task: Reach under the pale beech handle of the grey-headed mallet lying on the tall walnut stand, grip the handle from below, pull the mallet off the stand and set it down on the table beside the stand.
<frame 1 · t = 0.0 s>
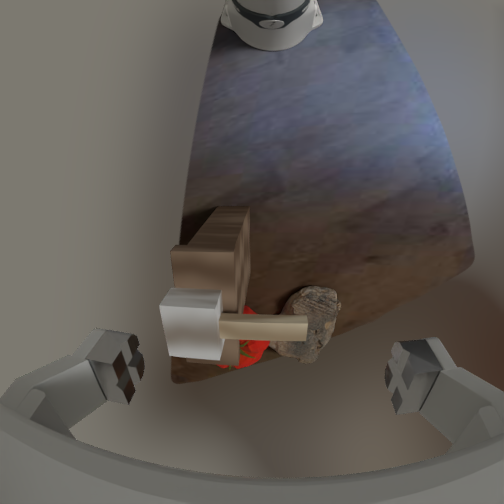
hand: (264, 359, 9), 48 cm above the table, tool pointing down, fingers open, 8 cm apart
tomato: (239, 321, 66), on the table
mallet: (198, 314, 34), point 26 cm above the table, touching walnut stand
walnut stand: (234, 241, 59), on the table
clay tablet: (307, 318, 64), on the table
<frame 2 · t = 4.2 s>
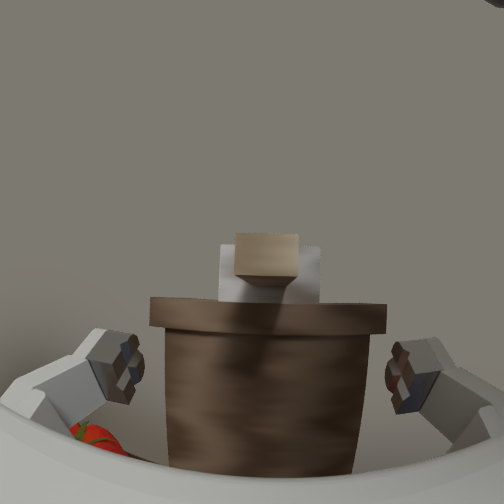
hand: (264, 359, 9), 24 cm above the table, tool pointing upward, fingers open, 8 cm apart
mallet: (269, 302, 23), point 26 cm above the table, touching walnut stand
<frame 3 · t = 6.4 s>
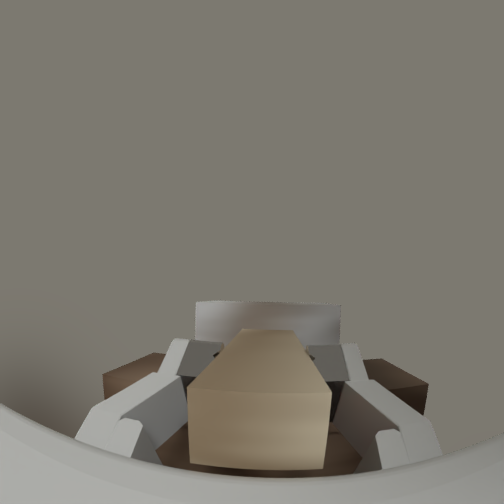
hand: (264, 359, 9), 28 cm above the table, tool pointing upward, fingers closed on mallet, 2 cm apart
mallet: (266, 370, 16), point 26 cm above the table, touching gripper, walnut stand
when the fingers open (20 cm above the table, at t = 13.1 s): mallet drops 11 cm, on the table.
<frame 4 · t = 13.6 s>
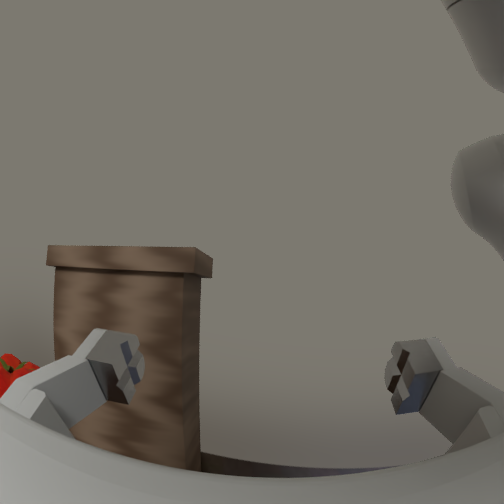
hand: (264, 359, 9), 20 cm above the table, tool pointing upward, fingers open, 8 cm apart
tomato: (21, 436, 25), on the table
walnut stand: (136, 480, 24), on the table
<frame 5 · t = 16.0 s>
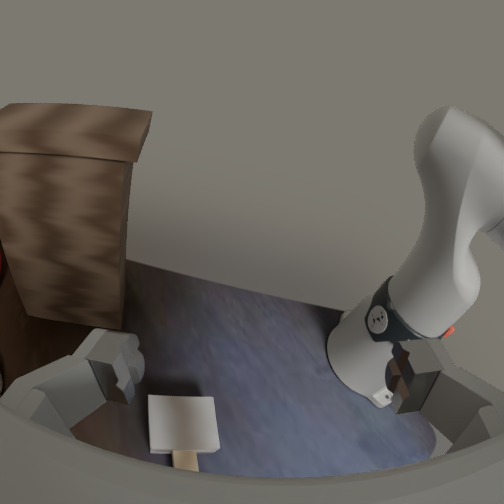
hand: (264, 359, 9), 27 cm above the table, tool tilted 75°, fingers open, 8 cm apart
mallet: (179, 430, 28), on the table
walnut stand: (75, 305, 35), on the table
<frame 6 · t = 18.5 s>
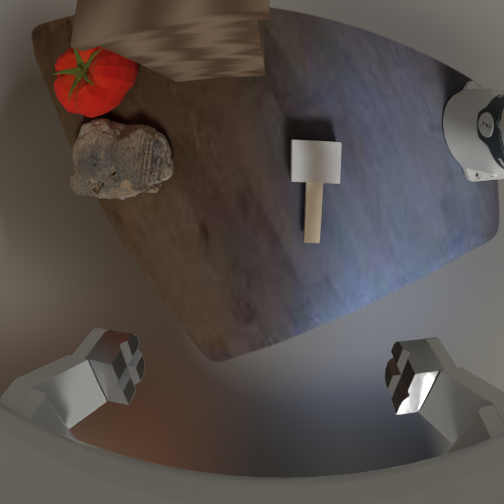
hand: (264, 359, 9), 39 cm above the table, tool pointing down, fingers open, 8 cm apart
tomato: (112, 80, 40), on the table
mallet: (313, 159, 43), on the table
walnut stand: (219, 60, 38), on the table
clay tablet: (126, 160, 46), on the table
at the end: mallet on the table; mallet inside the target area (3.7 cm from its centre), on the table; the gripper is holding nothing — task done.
